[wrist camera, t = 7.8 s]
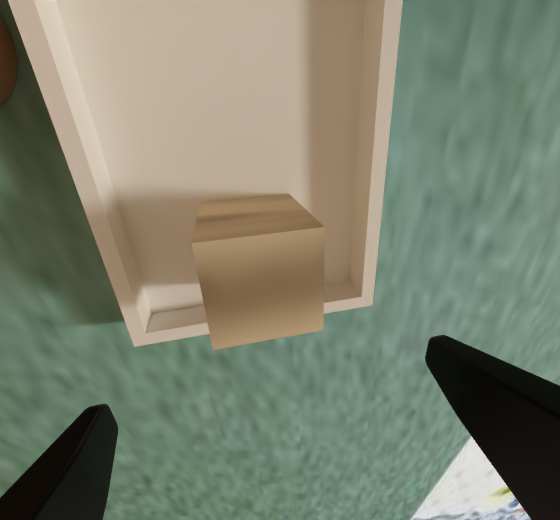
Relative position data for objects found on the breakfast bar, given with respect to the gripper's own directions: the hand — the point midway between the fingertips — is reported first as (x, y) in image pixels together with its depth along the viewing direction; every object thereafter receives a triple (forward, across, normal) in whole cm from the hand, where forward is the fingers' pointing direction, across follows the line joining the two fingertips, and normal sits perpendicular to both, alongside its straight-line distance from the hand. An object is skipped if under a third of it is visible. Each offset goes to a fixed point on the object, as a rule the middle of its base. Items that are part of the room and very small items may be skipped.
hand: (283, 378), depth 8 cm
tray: (+11, 0, -4) cm, 12 cm away
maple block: (+10, 0, 0) cm, 10 cm away
